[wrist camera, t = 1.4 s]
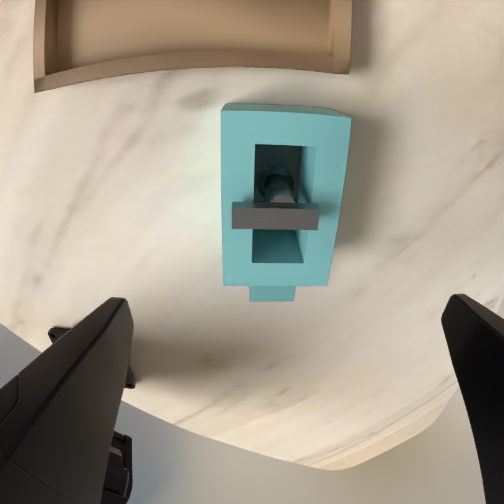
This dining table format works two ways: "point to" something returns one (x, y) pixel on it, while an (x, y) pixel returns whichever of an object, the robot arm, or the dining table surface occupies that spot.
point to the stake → (275, 206)
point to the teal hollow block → (310, 191)
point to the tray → (186, 37)
